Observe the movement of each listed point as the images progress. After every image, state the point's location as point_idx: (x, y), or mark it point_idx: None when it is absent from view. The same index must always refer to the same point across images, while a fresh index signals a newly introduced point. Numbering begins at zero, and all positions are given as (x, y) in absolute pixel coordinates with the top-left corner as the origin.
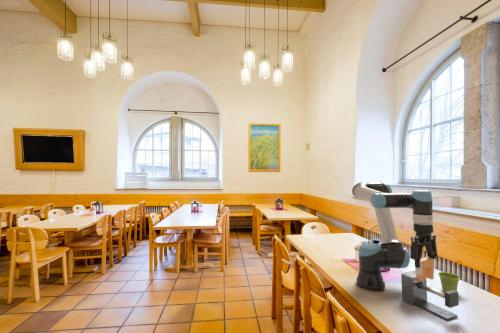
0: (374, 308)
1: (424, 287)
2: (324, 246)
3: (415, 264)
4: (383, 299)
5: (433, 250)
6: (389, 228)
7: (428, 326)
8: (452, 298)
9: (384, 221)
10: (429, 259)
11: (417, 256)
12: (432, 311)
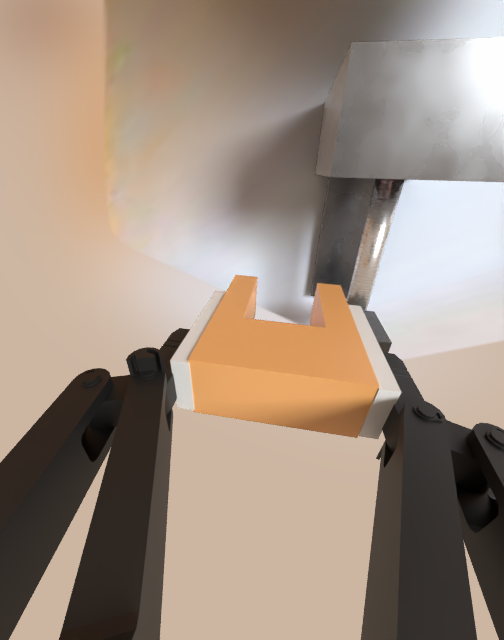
0: (136, 108)
1: (368, 218)
2: None
3: (166, 347)
4: (242, 43)
5: (479, 545)
6: None
7: (227, 282)
8: None
9: None
10: (315, 425)
11: (104, 448)
12: (318, 249)
